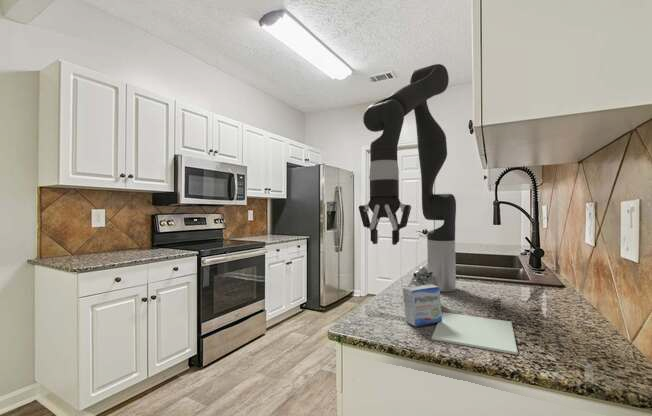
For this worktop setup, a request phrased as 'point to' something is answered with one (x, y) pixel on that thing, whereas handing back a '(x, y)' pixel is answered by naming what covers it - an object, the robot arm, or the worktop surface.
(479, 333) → the cutting board
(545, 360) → the worktop surface
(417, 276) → the heart
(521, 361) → the worktop surface
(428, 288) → the medicine box
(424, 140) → the robot arm
